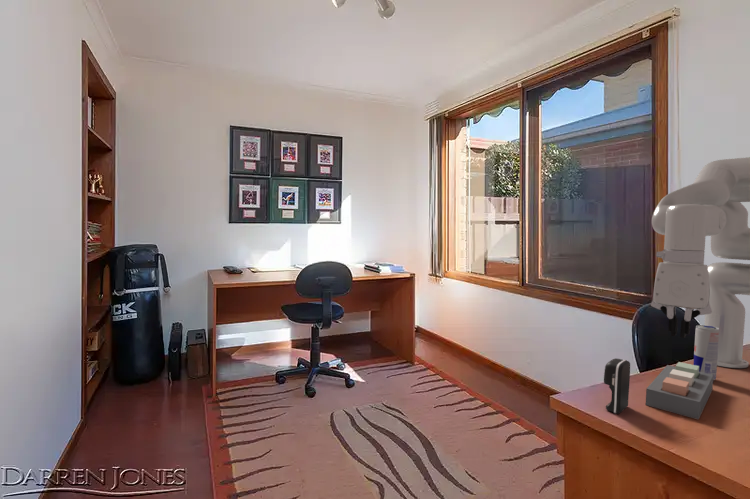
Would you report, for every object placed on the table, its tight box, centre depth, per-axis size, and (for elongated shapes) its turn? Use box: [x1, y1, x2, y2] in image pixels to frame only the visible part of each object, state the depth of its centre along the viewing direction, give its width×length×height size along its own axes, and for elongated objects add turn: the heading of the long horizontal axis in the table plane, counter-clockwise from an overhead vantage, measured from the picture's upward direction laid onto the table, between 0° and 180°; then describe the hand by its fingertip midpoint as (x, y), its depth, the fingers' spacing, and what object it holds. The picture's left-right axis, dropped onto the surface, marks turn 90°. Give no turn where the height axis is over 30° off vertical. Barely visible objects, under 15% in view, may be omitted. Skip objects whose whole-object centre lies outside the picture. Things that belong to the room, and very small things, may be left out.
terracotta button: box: [662, 377, 689, 396], centre depth 96 cm, size 4×4×3 cm
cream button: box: [669, 369, 694, 387], centre depth 102 cm, size 4×4×3 cm
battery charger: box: [603, 358, 631, 415], centre depth 95 cm, size 7×4×11 cm, turn 132°
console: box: [645, 364, 714, 421], centre depth 102 cm, size 24×10×4 cm, turn 135°
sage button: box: [675, 361, 699, 378], centre depth 107 cm, size 4×4×3 cm
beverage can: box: [692, 324, 719, 381], centre depth 114 cm, size 5×5×15 cm
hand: (678, 335), depth 95 cm, fingers closed
